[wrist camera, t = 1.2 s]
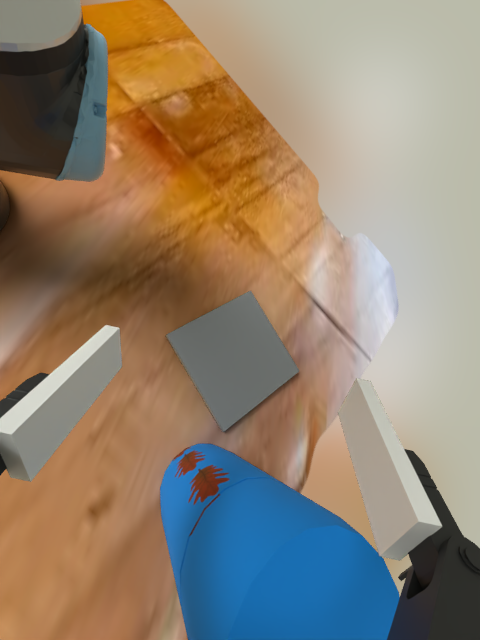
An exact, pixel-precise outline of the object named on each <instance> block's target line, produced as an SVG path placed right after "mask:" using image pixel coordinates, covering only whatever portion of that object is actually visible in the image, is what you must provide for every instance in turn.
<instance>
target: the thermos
mask: <svg viewBox="0 0 480 640" xmlns="http://www.w3.org/2000/svg"><path fill="white" fill-rule="evenodd" d="M160 501H161V516H162V522H163V527H164V531H165V536H166V540H167V545H168V549H169V554H170V559H171V563H172V568H173V572H174V577H175V582H176V586H177V591H178V595H179V600H180V604H181V608H182V614H183V618H184V623H185V627H186V632H187V636H188V640H387V638H388V634H389V631H390V628H391V625H392V622H393V618H394V615H395V612H396V609H397V605H398V602H399V599H400V597H399V592H398V590H397V588H396V585H395V583H394V581H393V579H392V577H391V574H390V572H389V570H388V568H387V566H386V564H385V561H384V559H383V558H382V557H381V556H379V554H378V552H376V550H375V549H374V548H373V547H372V546H371V545H370V544H369V543H368V542H367V541H366V540H365V538H364V537H363V536H362V535H361V534H359V533H358V532H357V531H356V530H355V529H353V528H352V527H351V526H350V525H348V524H347V523H346V522H345V521H344V520H343V519H341V518H340V517H338V516H337V515H335V514H333V513H332V512H330V511H328V510H327V509H325V508H323V507H322V506H320V505H318V504H317V503H315V502H313V501H312V500H310V499H308V498H307V497H305V496H303V495H302V494H300V493H298V492H297V491H295V490H293V489H292V488H290V487H288V486H287V485H285V484H283V483H282V482H280V481H278V480H277V479H275V478H273V477H272V476H270V475H268V474H267V473H265V472H263V471H262V470H260V469H258V468H257V467H255V466H253V465H252V464H250V463H248V462H247V461H245V460H243V459H242V458H240V457H238V456H237V455H235V454H233V453H231V452H229V451H227V450H225V449H222V448H220V447H218V446H215V445H213V444H196V445H194V446H191V447H188V448H186V449H185V450H183V451H182V452H181V453H180V454H178V455H177V456H176V457H175V458H174V459H173V460H172V462H171V464H170V465H169V467H168V468H167V470H166V471H165V474H164V477H163V480H162V484H161V487H160Z"/></svg>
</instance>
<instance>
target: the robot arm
mask: <svg viewBox="0 0 480 640" xmlns="http://www.w3.org/2000/svg"><path fill="white" fill-rule="evenodd" d="M107 87H108V53H107V43H106V40H105V38H104V36H103V35H102V34H101V33H100V32H98V31H96V30H95V29H94V28H93V27H91V25H89V24H86V25H84V23H83V16H82V9H81V3H80V0H0V170H3V171H9V172H15V173H21V174H27V175H33V176H39V177H45V178H51V179H55V180H58V181H62V180H64V179H65V180H76V181H87V182H91V181H95V180H97V179H99V178H100V177H101V175H102V174H103V171H104V164H105V151H106V122H107V119H106V111H107ZM9 211H10V202H9V197H8V194H7V192H6V190H5V188H4V186H3V184H2V183H1V181H0V230H1V229H2V228H3V226H4V225H5V223H6V221H7V219H8V216H9ZM121 367H122V358H121V343H120V328H118V327H113V326H108V325H105V326H104V327H103V328H102V329H101V330H100V331H98V332H97V333H96V334H95V335H94V336H93V337H92V338H90V339H89V340H88V341H87V342H86V343H85V344H84V345H83V346H81V347H80V348H79V349H78V350H77V351H76V352H75V353H73V354H72V355H71V356H70V357H69V358H68V359H67V360H66V361H64V362H63V363H62V364H61V365H60V366H59V367H58V368H57V369H55V370H54V371H53V372H52V373H51V374H45V373H39V374H37V375H35V376H33V377H31V378H29V379H27V380H26V381H24V382H23V383H22V384H21V385H20V386H18V387H17V388H16V390H15V391H12V392H11V393H10V394H9V395H7V396H6V398H5V399H3V400H1V401H0V475H1V474H2V473H3V472H4V470H5V469H7V471H8V473H9V475H10V477H11V478H16V479H21V480H25V481H30V482H31V481H32V480H33V478H34V477H35V476H36V475H37V473H38V472H39V471H40V469H41V468H42V467H43V466H44V464H45V463H46V462H47V461H48V459H49V458H50V457H51V456H52V454H53V453H54V452H55V451H56V449H57V448H58V447H59V446H60V444H61V443H62V442H63V440H64V439H65V438H66V437H67V435H68V434H69V433H70V432H71V430H72V429H73V428H74V427H75V425H76V424H77V423H78V422H79V420H80V419H81V418H82V416H83V415H84V414H85V413H86V411H87V410H88V409H89V408H90V406H91V405H92V404H93V403H94V401H95V400H96V399H97V398H98V396H99V395H100V394H101V393H102V391H103V390H104V389H105V387H106V386H107V385H108V384H109V382H110V381H111V380H112V379H113V377H114V376H115V375H116V374H117V372H118V371H119V370H120V369H121ZM338 415H339V418H340V422H341V425H342V429H343V432H344V436H345V439H346V442H347V446H348V449H349V453H350V456H351V460H352V463H353V467H354V470H355V473H356V477H357V480H358V484H359V487H360V491H361V494H362V498H363V501H364V505H365V508H366V512H367V515H368V519H369V522H370V525H371V529H372V532H373V536H374V539H375V543H376V546H377V549H378V553H379V556H381V557H386V558H391V559H395V560H401V559H402V558H404V557H405V556H406V555H407V554H409V557H410V560H411V562H412V566H411V567H409V568H408V569H407V570H405V571H404V572H403V573H401V574H400V576H399V577H398V578H399V579H400V580H401V581H402V580H403V579H404V578H406V580H405V583H404V586H403V589H402V593H401V596H400V599H399V602H398V605H397V609H396V612H395V615H394V618H393V622H392V625H391V628H390V631H389V634H388V638H387V640H480V548H478V546H477V545H475V544H474V543H473V542H471V541H470V540H468V539H467V538H465V537H464V536H463V535H462V533H461V531H460V530H459V528H458V526H457V524H456V522H455V520H454V518H453V517H452V515H451V513H450V511H449V509H448V507H447V506H446V504H445V502H444V500H443V498H442V496H441V494H440V492H439V491H438V490H437V487H436V485H435V483H434V481H433V480H432V479H431V476H430V474H429V472H428V470H427V468H426V467H425V465H424V463H423V462H422V461H421V460H420V458H419V457H418V456H417V455H416V454H415V453H414V452H413V451H410V450H406V449H404V448H403V446H402V444H401V442H400V440H399V438H398V436H397V434H396V432H395V430H394V428H393V426H392V424H391V422H390V420H389V418H388V416H387V413H386V412H385V410H384V408H383V405H382V403H381V401H380V399H379V397H378V395H377V393H376V391H375V389H374V387H373V385H372V383H371V381H368V380H362V379H358V378H356V380H355V382H354V384H353V386H352V387H351V389H350V391H349V393H348V395H347V397H346V398H345V400H344V402H343V404H342V406H341V408H340V409H339V411H338Z"/></svg>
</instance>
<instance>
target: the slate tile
mask: <svg viewBox="0 0 480 640" xmlns="http://www.w3.org/2000/svg"><path fill="white" fill-rule="evenodd" d="M166 338H167V339H168V341H169V343H170V344H171V346H172V348H173V349H174V351H175V353H176V355H177V356H178V358H179V360H180V361H181V363H182V365H183V366H184V368H185V370H186V372H187V373H188V375H189V377H190V378H191V380H192V382H193V383H194V385H195V387H196V389H197V390H198V392H199V394H200V395H201V397H202V399H203V400H204V402H205V404H206V406H207V407H208V409H209V411H210V412H211V414H212V416H213V417H214V419H215V421H216V423H217V424H218V426H219V428H220V429H221V431H223V432H224V431H226V430H227V429H228V428H229V427H231V426H232V425H233V424H234V423H236V422H237V421H238V420H239V419H240V418H242V417H243V416H244V415H245V414H247V413H248V412H249V411H250V410H252V409H253V408H254V407H255V406H257V405H258V404H259V403H260V402H262V401H263V400H264V399H265V398H267V397H268V396H269V395H270V394H272V393H273V392H274V391H275V390H277V389H278V388H279V387H280V386H282V385H283V384H284V383H285V382H287V381H288V380H289V379H290V378H292V377H293V376H294V375H295V374H296V373H298V372H299V369H298V368H297V366H296V364H295V363H294V361H293V359H292V358H291V356H290V355H289V353H288V351H287V350H286V348H285V346H284V345H283V343H282V341H281V340H280V338H279V336H278V335H277V333H276V331H275V330H274V328H273V327H272V325H271V323H270V322H269V320H268V318H267V317H266V315H265V313H264V312H263V310H262V308H261V307H260V305H259V304H258V302H257V300H256V299H255V297H254V295H253V294H252V292H251V291H249V292H247V293H245V294H243V295H241V296H239V297H237V298H235V299H233V300H232V301H230V302H228V303H226V304H224V305H222V306H220V307H218V308H216V309H214V310H212V311H211V312H209V313H207V314H205V315H203V316H201V317H199V318H197V319H195V320H193V321H191V322H190V323H188V324H186V325H184V326H182V327H180V328H178V329H176V330H174V331H172V332H170V333H169V334H167V335H166Z"/></svg>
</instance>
